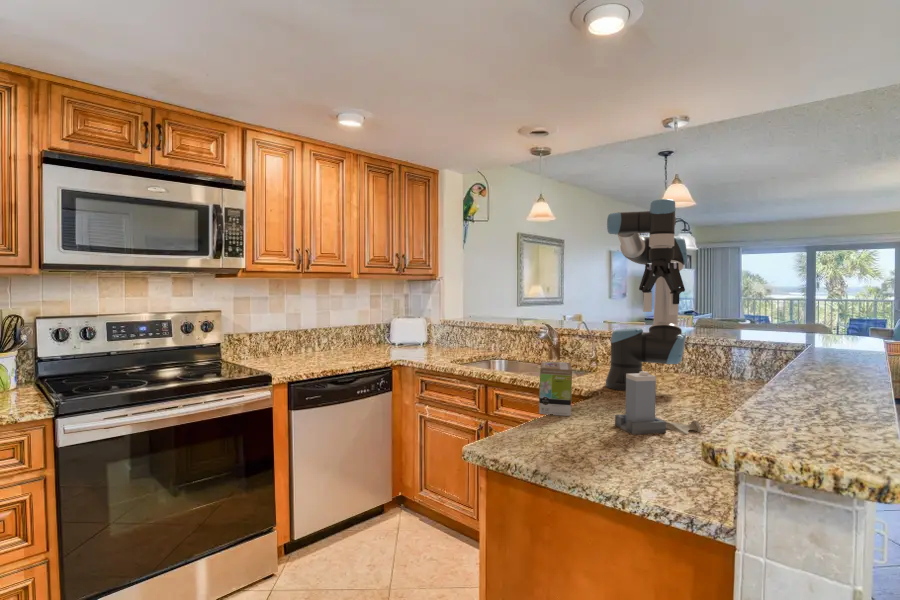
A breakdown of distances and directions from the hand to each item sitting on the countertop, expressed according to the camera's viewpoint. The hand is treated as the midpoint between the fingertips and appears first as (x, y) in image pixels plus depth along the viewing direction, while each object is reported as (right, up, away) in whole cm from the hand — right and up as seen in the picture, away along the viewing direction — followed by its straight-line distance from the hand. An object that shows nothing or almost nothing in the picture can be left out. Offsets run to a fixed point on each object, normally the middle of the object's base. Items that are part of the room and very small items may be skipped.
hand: (660, 313), depth 159 cm
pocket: (-15, -32, -22) cm, 42 cm away
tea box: (-35, -31, -2) cm, 47 cm away
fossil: (-4, -33, -22) cm, 40 cm away
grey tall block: (-15, -31, -22) cm, 41 cm away
